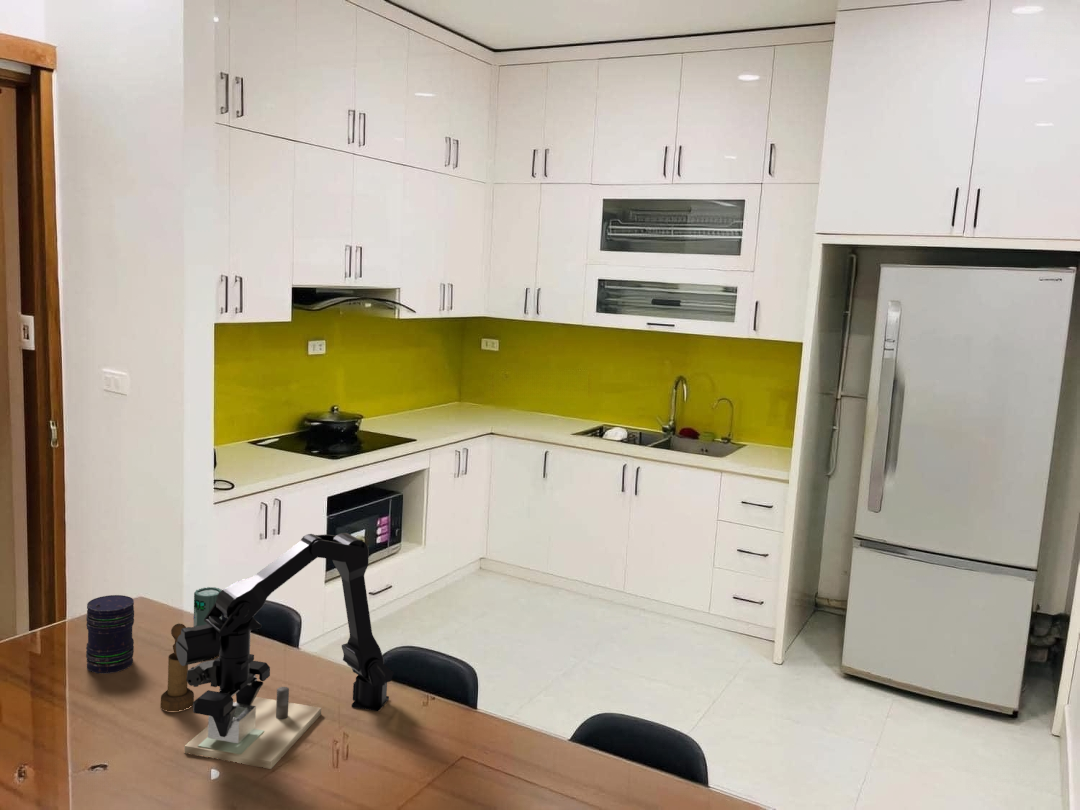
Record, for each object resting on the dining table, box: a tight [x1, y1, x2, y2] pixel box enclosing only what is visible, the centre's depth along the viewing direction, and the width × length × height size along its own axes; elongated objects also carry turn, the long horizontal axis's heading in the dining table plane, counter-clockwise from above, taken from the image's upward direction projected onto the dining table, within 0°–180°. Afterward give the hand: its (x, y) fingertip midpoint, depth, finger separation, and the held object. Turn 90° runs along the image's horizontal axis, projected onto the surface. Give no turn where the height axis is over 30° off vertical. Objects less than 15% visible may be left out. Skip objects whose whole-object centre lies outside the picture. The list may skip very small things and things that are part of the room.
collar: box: [207, 701, 256, 743], centre depth 169 cm, size 6×6×4 cm
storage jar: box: [85, 594, 135, 675], centre depth 199 cm, size 10×10×15 cm
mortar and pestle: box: [160, 623, 195, 711], centre depth 182 cm, size 7×6×18 cm
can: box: [192, 586, 223, 627], centre depth 210 cm, size 6×6×15 cm
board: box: [183, 686, 322, 770], centre depth 175 cm, size 18×22×8 cm
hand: (232, 727), depth 169 cm, fingers closed on collar, 6 cm apart
